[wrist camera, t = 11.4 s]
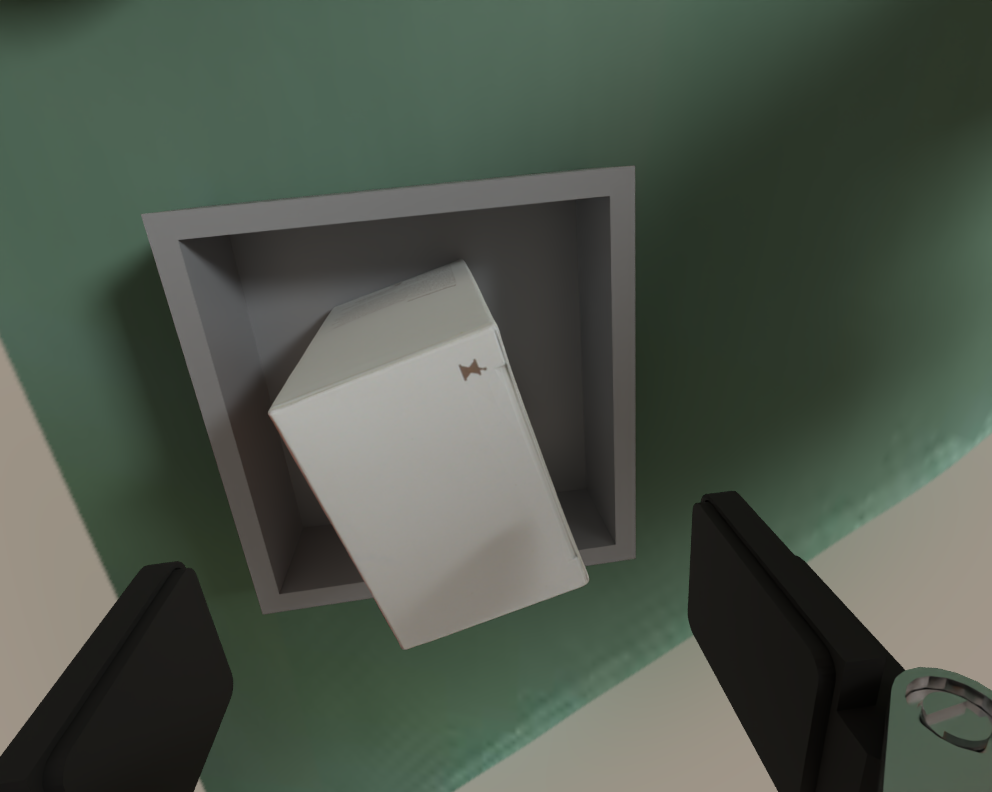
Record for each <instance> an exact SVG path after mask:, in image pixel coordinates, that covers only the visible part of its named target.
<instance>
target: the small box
mask: <svg viewBox="0 0 992 792" xmlns="http://www.w3.org/2000/svg"><path fill="white" fill-rule="evenodd" d="M268 415H269V417H270V418H271V420H272V421H273V423H274V425H275V426H276V428H277V430H278V432H279V433H280V435H281V437H282V439H283V441H284V442H285V444H286V446H287V448H288V450H289V451H290V453H291V455H292V457H293V459H294V460H295V462H296V464H297V465H298V467H299V469H300V471H301V472H302V474H303V476H304V477H305V479H306V481H307V483H308V484H309V486H310V488H311V490H312V491H313V493H314V495H315V497H316V498H317V500H318V502H319V504H320V505H321V507H322V509H323V511H324V512H325V514H326V516H327V517H328V519H329V521H330V522H331V524H332V526H333V528H334V529H335V531H336V533H337V535H338V537H339V538H340V540H341V542H342V544H343V545H344V547H345V549H346V550H347V552H348V554H349V556H350V558H351V559H352V561H353V563H354V564H355V566H356V568H357V570H358V572H359V573H360V575H361V577H362V579H363V580H364V582H365V584H366V585H367V587H368V589H369V590H370V592H371V594H372V596H373V598H374V600H375V601H376V603H377V605H378V607H379V608H380V610H381V612H382V614H383V616H384V617H385V619H386V621H387V623H388V624H389V626H390V628H391V630H392V631H393V633H394V635H395V637H396V638H397V640H398V642H399V644H400V646H401V648H402V649H405V650H406V649H409V648H412V647H415V646H418V645H421V644H424V643H427V642H430V641H433V640H436V639H439V638H441V637H444V636H447V635H450V634H453V633H455V632H458V631H461V630H463V629H466V628H469V627H472V626H474V625H477V624H480V623H483V622H486V621H488V620H491V619H494V618H497V617H499V616H502V615H505V614H508V613H510V612H513V611H516V610H519V609H522V608H524V607H527V606H530V605H533V604H535V603H538V602H541V601H544V600H546V599H549V598H552V597H555V596H557V595H560V594H563V593H566V592H568V591H571V590H574V589H577V588H579V587H582V586H584V585H586V584H587V583H588V581H589V576H588V573H587V570H586V568H585V565H584V563H583V561H582V558H581V556H580V553H579V551H578V548H577V546H576V543H575V541H574V538H573V536H572V533H571V531H570V528H569V525H568V523H567V520H566V518H565V515H564V512H563V510H562V507H561V504H560V502H559V499H558V496H557V494H556V491H555V488H554V486H553V483H552V480H551V477H550V475H549V472H548V469H547V467H546V464H545V461H544V458H543V456H542V453H541V450H540V447H539V445H538V442H537V439H536V437H535V434H534V431H533V428H532V426H531V423H530V420H529V417H528V415H527V412H526V409H525V406H524V404H523V401H522V398H521V395H520V392H519V390H518V387H517V384H516V381H515V379H514V376H513V373H512V370H511V367H510V364H509V360H508V357H507V354H506V351H505V348H504V345H503V342H502V338H501V335H500V331H499V328H498V326H497V324H496V322H495V321H494V319H493V317H492V315H491V313H490V311H489V309H488V307H487V305H486V303H485V301H484V298H483V296H482V294H481V291H480V290H479V288H478V285H477V283H476V281H475V279H474V278H473V276H472V274H471V272H470V270H469V268H468V266H467V265H466V263H465V261H464V260H463V259H460V260H457V261H455V262H452V263H450V264H447V265H445V266H442V267H439V268H436V269H434V270H431V271H428V272H426V273H423V274H421V275H418V276H415V277H413V278H410V279H407V280H405V281H402V282H399V283H397V284H394V285H391V286H389V287H386V288H383V289H381V290H378V291H375V292H373V293H370V294H367V295H365V296H362V297H359V298H357V299H354V300H352V301H349V302H346V303H344V304H341V305H339V306H336V307H334V308H333V309H332V310H331V312H330V313H329V315H328V316H327V318H326V320H325V321H324V323H323V324H322V326H321V327H320V329H319V330H318V332H317V334H316V335H315V337H314V338H313V340H312V342H311V343H310V345H309V346H308V348H307V350H306V351H305V353H304V355H303V356H302V358H301V359H300V361H299V362H298V364H297V365H296V367H295V369H294V370H293V372H292V373H291V375H290V376H289V378H288V379H287V381H286V383H285V384H284V386H283V388H282V390H281V391H280V393H279V394H278V396H277V397H276V399H275V401H274V402H273V404H272V406H271V407H270V409H269V411H268Z"/></svg>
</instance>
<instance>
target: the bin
mask: <svg viewBox="0 0 992 792" xmlns="http://www.w3.org/2000/svg"><path fill="white" fill-rule="evenodd" d="M141 216H142V219H143V222H144V226H145V229H146V232H147V236H148V239H149V242H150V245H151V249H152V252H153V255H154V259H155V262H156V265H157V268H158V272H159V275H160V278H161V282H162V285H163V288H164V291H165V295H166V298H167V301H168V305H169V308H170V311H171V314H172V318H173V321H174V324H175V328H176V331H177V334H178V337H179V341H180V344H181V347H182V351H183V354H184V357H185V360H186V364H187V367H188V370H189V374H190V377H191V380H192V383H193V387H194V390H195V393H196V397H197V400H198V403H199V406H200V410H201V413H202V416H203V420H204V423H205V426H206V430H207V433H208V436H209V439H210V443H211V446H212V449H213V453H214V456H215V459H216V462H217V466H218V469H219V472H220V476H221V479H222V482H223V485H224V489H225V492H226V495H227V499H228V502H229V505H230V508H231V512H232V515H233V518H234V522H235V525H236V528H237V531H238V535H239V538H240V541H241V545H242V548H243V551H244V554H245V558H246V561H247V564H248V568H249V571H250V574H251V577H252V581H253V584H254V587H255V591H256V594H257V597H258V600H259V604H260V607H261V610H262V614H269V613H275V612H282V611H289V610H295V609H302V608H309V607H315V606H322V605H329V604H336V603H342V602H349V601H356V600H362V599H369V598H373V596H372V594H371V592H370V590H369V589H368V587H367V585H366V584H365V582H364V580H363V579H362V577H361V575H360V573H359V572H358V570H357V568H356V566H355V564H354V563H353V561H352V559H351V558H350V556H349V554H348V552H347V550H346V549H345V547H344V545H343V544H342V542H341V540H340V538H339V537H338V535H337V533H336V531H335V529H334V528H333V526H332V524H331V522H330V521H329V519H328V517H327V516H326V514H325V512H324V511H323V509H322V507H321V505H320V504H319V502H318V500H317V498H316V497H315V495H314V493H313V491H312V490H311V488H310V486H309V484H308V483H307V481H306V479H305V477H304V476H303V474H302V472H301V471H300V469H299V467H298V465H297V464H296V462H295V460H294V459H293V457H292V455H291V453H290V451H289V450H288V448H287V446H286V444H285V442H284V441H283V439H282V437H281V435H280V433H279V432H278V430H277V428H276V426H275V425H274V423H273V421H272V420H271V418H270V417H269V415H268V411H269V409H270V407H271V406H272V404H273V402H274V401H275V399H276V397H277V396H278V394H279V393H280V391H281V390H282V388H283V386H284V384H285V383H286V381H287V379H288V378H289V376H290V375H291V373H292V372H293V370H294V369H295V367H296V365H297V364H298V362H299V361H300V359H301V358H302V356H303V355H304V353H305V351H306V350H307V348H308V346H309V345H310V343H311V342H312V340H313V338H314V337H315V335H316V334H317V332H318V330H319V329H320V327H321V326H322V324H323V323H324V321H325V320H326V318H327V316H328V315H329V313H330V312H331V310H332V309H333V308H334V307H336V306H339V305H341V304H344V303H346V302H349V301H352V300H354V299H357V298H359V297H362V296H365V295H367V294H370V293H373V292H375V291H378V290H381V289H383V288H386V287H389V286H391V285H394V284H397V283H399V282H402V281H405V280H407V279H410V278H413V277H415V276H418V275H421V274H423V273H426V272H428V271H431V270H434V269H436V268H439V267H442V266H445V265H447V264H450V263H452V262H455V261H457V260H460V259H463V260H464V261H465V263H466V265H467V266H468V268H469V270H470V272H471V274H472V276H473V278H474V279H475V281H476V283H477V285H478V288H479V290H480V291H481V294H482V296H483V298H484V301H485V303H486V305H487V307H488V309H489V311H490V313H491V315H492V317H493V319H494V321H495V322H496V324H497V326H498V328H499V331H500V335H501V338H502V342H503V345H504V348H505V351H506V354H507V357H508V360H509V364H510V367H511V370H512V373H513V376H514V379H515V381H516V384H517V387H518V390H519V392H520V395H521V398H522V401H523V404H524V406H525V409H526V412H527V415H528V417H529V420H530V423H531V426H532V428H533V431H534V434H535V437H536V439H537V442H538V445H539V447H540V450H541V453H542V456H543V458H544V461H545V464H546V467H547V469H548V472H549V475H550V477H551V480H552V483H553V486H554V488H555V491H556V494H557V496H558V499H559V502H560V504H561V507H562V510H563V512H564V515H565V518H566V520H567V523H568V525H569V528H570V531H571V533H572V536H573V538H574V541H575V543H576V546H577V548H578V551H579V553H580V556H581V558H582V561H583V563H584V565H585V566H589V565H596V564H602V563H609V562H616V561H623V560H629V559H636V468H635V166H620V167H603V168H588V169H578V170H568V171H558V172H548V173H538V174H527V175H517V176H507V177H497V178H487V179H477V180H466V181H456V182H446V183H436V184H426V185H416V186H405V187H395V188H385V189H375V190H365V191H355V192H344V193H334V194H324V195H314V196H304V197H294V198H283V199H273V200H263V201H253V202H243V203H233V204H222V205H212V206H203V207H195V208H187V209H179V210H171V211H163V212H155V213H147V214H141Z"/></svg>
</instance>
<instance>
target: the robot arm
mask: <svg viewBox="0 0 992 792" xmlns="http://www.w3.org/2000/svg"><path fill="white" fill-rule="evenodd" d="M688 620H689V624H690V627H691V630H692V633H693V635H694V637H695V638H696V640H697V642H698V644H699V646H700V648H701V650H702V651H703V653H704V655H705V657H706V659H707V660H708V663H709V664H710V666H711V668H712V670H713V671H714V674H715V675H716V677H717V679H718V681H719V683H720V685H721V687H722V688H723V690H724V692H725V694H726V696H727V698H728V699H729V701H730V703H731V705H732V707H733V709H734V711H735V713H736V714H737V716H738V718H739V720H740V722H741V724H742V726H743V727H744V729H745V731H746V733H747V735H748V737H749V738H750V740H751V742H752V744H753V746H754V748H755V749H756V752H757V753H758V755H759V757H760V759H761V761H762V763H763V764H764V766H765V768H766V770H767V772H768V774H769V776H770V777H771V779H772V781H773V783H774V785H775V787H776V788H777V790H778V792H992V691H991V690H990V689H988V688H987V687H985V686H983V685H982V684H980V683H978V682H976V681H974V680H972V679H970V678H967V677H965V676H963V675H960V674H958V673H954V672H951V671H946V670H943V669H938V668H925V667H924V668H923V667H918V668H914V669H909V670H904V669H903V667H902V666H901V665H900V664H899V663H898V662H897V661H896V660H895V659H894V658H893V656H892V655H891V654H890V653H889V652H888V651H887V650H886V649H885V648H884V647H883V646H882V644H881V643H880V642H879V641H878V640H877V639H876V638H875V637H874V636H873V635H872V634H871V633H870V632H869V631H868V629H867V628H866V627H865V626H864V625H863V624H862V623H861V622H860V621H859V620H858V619H857V617H855V615H854V614H853V613H852V612H851V611H850V610H849V609H848V608H847V607H846V606H845V604H844V603H843V602H842V601H841V600H840V599H839V598H838V597H837V596H836V595H835V594H834V593H833V592H832V590H831V589H830V588H829V587H828V586H827V585H826V584H825V583H824V582H823V581H822V580H821V578H820V577H819V576H818V575H817V574H816V573H815V572H814V571H813V570H812V569H811V568H810V567H809V565H808V564H807V563H806V562H805V561H804V560H802V559H801V558H800V557H798V556H795V555H794V554H793V553H792V552H791V551H790V550H789V549H788V547H787V546H786V545H785V544H784V543H783V542H782V541H781V540H780V539H779V538H778V536H777V535H776V534H775V533H774V532H773V531H772V530H771V529H770V528H769V527H768V526H767V524H766V523H765V522H764V521H763V520H762V519H761V518H760V517H759V516H758V515H757V513H756V512H755V511H754V510H753V509H752V508H751V507H750V506H749V505H748V504H747V502H746V501H745V500H744V499H743V498H742V497H741V496H740V495H739V494H738V493H737V492H736V491H727V492H719V493H711V494H705V495H703V497H702V499H701V503H696V504H694V506H693V514H692V535H691V555H690V576H689V597H688ZM232 691H233V677H232V673H231V670H230V668H229V665H228V662H227V659H226V656H225V654H224V651H223V648H222V645H221V642H220V640H219V637H218V634H217V631H216V628H215V626H214V623H213V620H212V617H211V614H210V612H209V609H208V606H207V603H206V600H205V598H204V595H203V592H202V589H201V586H200V584H199V581H198V578H197V575H196V573H195V571H194V570H193V569H191V568H186V567H185V565H184V564H183V563H182V562H178V561H177V562H169V563H161V564H153V565H147V566H144V567H143V568H142V569H141V570H140V571H139V572H138V574H137V575H136V576H135V578H134V579H133V580H132V582H131V583H130V584H129V586H128V587H127V588H126V590H125V591H124V592H123V594H122V595H121V596H120V598H119V599H118V600H117V602H116V603H115V604H114V606H113V607H112V608H111V610H110V611H109V612H108V614H107V615H106V616H105V618H104V619H103V620H102V622H101V623H100V624H99V626H98V627H97V628H96V630H95V631H94V632H93V634H92V635H91V636H90V638H89V639H88V640H87V642H86V643H85V644H84V646H83V647H82V648H81V650H80V651H79V652H78V654H77V655H76V656H75V658H74V659H73V660H72V662H71V663H70V664H69V666H68V667H67V668H66V670H65V671H64V672H63V674H62V675H61V676H60V678H59V679H58V680H57V682H56V683H55V684H54V686H53V687H52V688H51V690H50V691H49V692H48V694H47V695H46V696H45V698H44V699H43V700H42V702H41V703H40V704H39V706H38V707H37V708H36V710H35V711H34V713H33V714H32V715H31V716H30V718H29V719H28V721H27V722H26V723H25V724H24V726H23V727H22V728H21V730H20V731H19V732H18V734H17V735H16V737H15V738H14V739H13V740H12V742H11V743H10V744H9V746H8V747H7V749H6V750H5V751H4V752H3V754H2V755H1V756H0V792H194V790H195V787H196V784H197V782H198V779H199V777H200V774H201V772H202V769H203V767H204V764H205V762H206V759H207V757H208V754H209V752H210V749H211V747H212V744H213V742H214V739H215V737H216V734H217V732H218V729H219V727H220V724H221V722H222V719H223V717H224V714H225V712H226V709H227V706H228V704H229V701H230V699H231V696H232Z"/></svg>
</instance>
